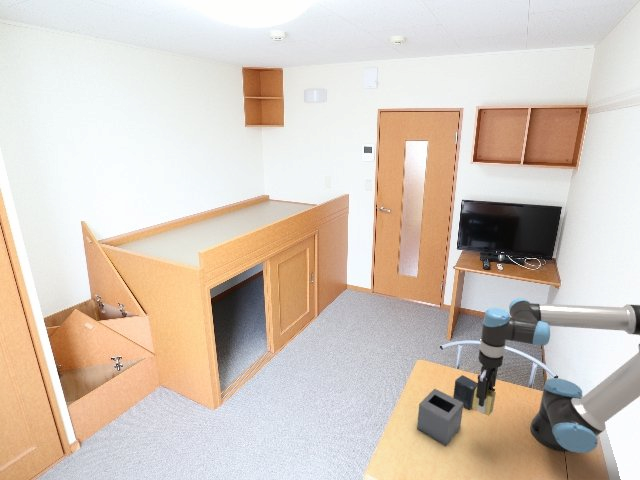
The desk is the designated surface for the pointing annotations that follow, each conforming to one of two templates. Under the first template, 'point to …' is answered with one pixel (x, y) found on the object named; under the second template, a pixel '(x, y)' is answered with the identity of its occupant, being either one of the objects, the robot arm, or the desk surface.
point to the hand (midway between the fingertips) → (483, 408)
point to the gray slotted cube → (440, 416)
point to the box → (465, 391)
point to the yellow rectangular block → (489, 403)
